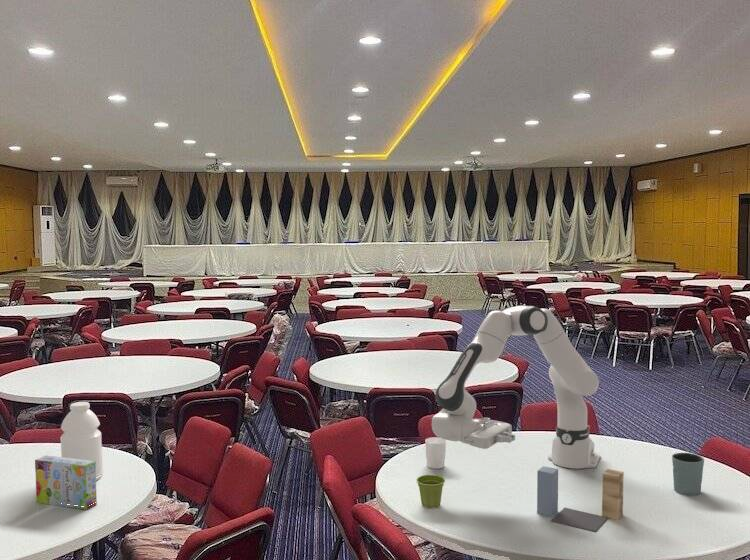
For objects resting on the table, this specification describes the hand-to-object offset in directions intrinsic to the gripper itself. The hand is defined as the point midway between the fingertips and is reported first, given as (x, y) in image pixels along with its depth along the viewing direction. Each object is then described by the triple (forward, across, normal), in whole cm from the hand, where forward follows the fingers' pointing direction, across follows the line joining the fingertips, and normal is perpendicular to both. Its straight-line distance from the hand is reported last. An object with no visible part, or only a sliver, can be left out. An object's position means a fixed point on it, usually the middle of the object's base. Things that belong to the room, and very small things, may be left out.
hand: (513, 439), depth 236 cm
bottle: (-141, -66, +22) cm, 157 cm away
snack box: (-124, -83, +23) cm, 151 cm away
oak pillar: (+30, +9, +22) cm, 38 cm away
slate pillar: (+12, 0, +22) cm, 25 cm away
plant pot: (-22, -16, +22) cm, 35 cm away
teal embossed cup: (+45, +44, +22) cm, 67 cm away
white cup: (-40, +18, +22) cm, 49 cm away
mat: (+23, 0, +22) cm, 31 cm away
